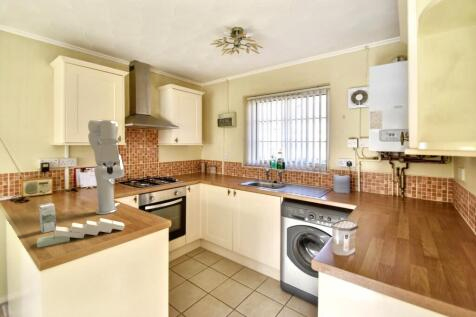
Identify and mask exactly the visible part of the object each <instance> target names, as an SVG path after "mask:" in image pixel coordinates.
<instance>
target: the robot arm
mask: <svg viewBox="0 0 476 317" xmlns="http://www.w3.org/2000/svg"><path fill="white" fill-rule="evenodd" d="M87 128H88V132H89V133H88V136H87V139H88V143H89V145H90V147H91V149H92V150H93V153H94V160H95V161H94V162H95V163H96V164H95V165H97V167H95V168H94V176H95V180H96V181H95V182H96V194H97V196H96V197H97V209H96V210H95V214H96V215H109V214H113V213H115V212H117V210H118V208H117V207H118V206H119V207H120V205H121V203H120V202H117V203H116V202H115V195H114V185H113V183H112V182H111V181H110V180H114V179H121V178H124V177H125V167H124V164H123V160H122V155H121V154H120V152H119V145H118V143H119V140H118V132H119V123H117V121H116V120H113V119H112V120H111V119H93V120H92V119H91V120H89V121H88V123H87Z"/></svg>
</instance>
